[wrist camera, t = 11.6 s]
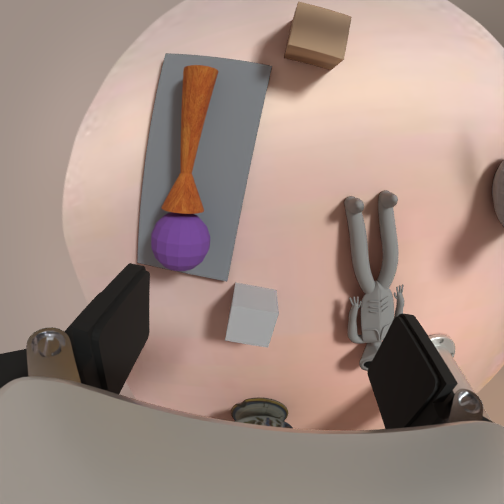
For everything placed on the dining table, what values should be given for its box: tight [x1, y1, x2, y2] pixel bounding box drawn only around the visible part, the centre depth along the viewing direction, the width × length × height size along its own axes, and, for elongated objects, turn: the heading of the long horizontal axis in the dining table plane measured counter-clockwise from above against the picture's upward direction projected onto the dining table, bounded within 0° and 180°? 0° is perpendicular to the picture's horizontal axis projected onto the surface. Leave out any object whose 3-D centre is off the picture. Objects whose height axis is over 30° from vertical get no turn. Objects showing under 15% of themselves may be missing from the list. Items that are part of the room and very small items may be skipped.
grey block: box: [225, 283, 279, 347], centre depth 34 cm, size 5×5×5 cm
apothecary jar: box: [231, 398, 292, 428], centre depth 37 cm, size 12×12×18 cm
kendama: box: [151, 65, 218, 271], centre depth 26 cm, size 6×6×20 cm
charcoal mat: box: [137, 54, 272, 281], centre depth 29 cm, size 24×11×1 cm, turn 168°
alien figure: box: [344, 190, 404, 371], centre depth 33 cm, size 8×5×25 cm
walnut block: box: [284, 2, 351, 70], centre depth 21 cm, size 5×5×5 cm
